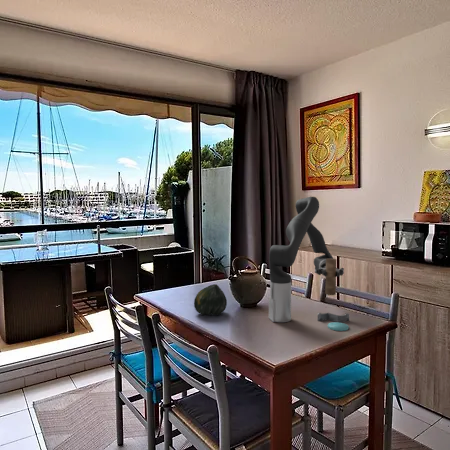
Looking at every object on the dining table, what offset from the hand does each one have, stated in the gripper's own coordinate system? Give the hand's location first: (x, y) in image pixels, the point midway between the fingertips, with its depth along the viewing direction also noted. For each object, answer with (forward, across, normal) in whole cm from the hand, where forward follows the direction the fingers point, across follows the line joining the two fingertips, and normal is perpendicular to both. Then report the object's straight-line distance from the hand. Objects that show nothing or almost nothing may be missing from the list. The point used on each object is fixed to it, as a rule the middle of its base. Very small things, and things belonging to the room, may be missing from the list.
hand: (331, 274), depth 173 cm
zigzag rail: (+4, +1, +20) cm, 20 cm away
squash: (+1, -55, +20) cm, 59 cm away
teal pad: (+13, +1, +20) cm, 24 cm away
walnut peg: (-3, 0, +10) cm, 10 cm away
